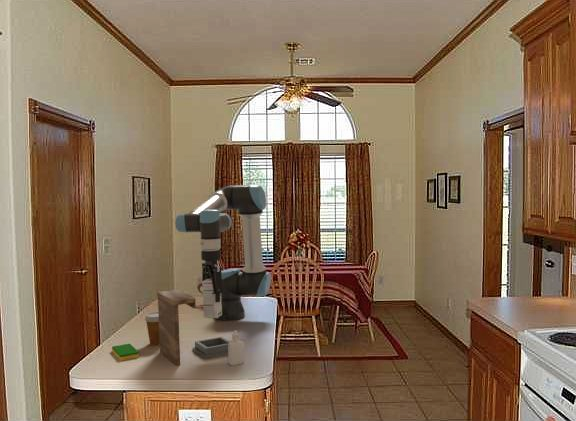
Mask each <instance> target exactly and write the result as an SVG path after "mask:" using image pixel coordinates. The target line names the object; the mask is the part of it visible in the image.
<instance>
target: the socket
mask: <svg viewBox="0 0 576 421" xmlns="http://www.w3.org/2000/svg"><path fill="white" fill-rule="evenodd" d="M230 342H231V341H230V340H228V339H227V338H225V337H223V336H217V337H216V336H215V337H211V338H206V339H200V340H195V341H194V346H193V347H192V349H191V350H192V352H195V353H196V354H197V355H199V356H201V357H202V358H203V359H210V358H211V359H212V358H216V357H220V356H226V355H228V344H229V343H230Z"/></svg>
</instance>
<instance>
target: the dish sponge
mask: <svg viewBox="0 0 576 421" xmlns="http://www.w3.org/2000/svg"><path fill="white" fill-rule="evenodd" d="M111 353H113V354H114V356H116V358H117V359H118V360H119V361H120V360H122V361H125V360H126V361H127V360H132V358H133V359H137V358H140V352H139V351H138V350H137V349H136V348H135V346H133V345H132V344H131V343H124V344H119V345H114V346H111Z"/></svg>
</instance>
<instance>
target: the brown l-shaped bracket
mask: <svg viewBox="0 0 576 421" xmlns="http://www.w3.org/2000/svg"><path fill="white" fill-rule="evenodd" d="M156 294H157V308H158V309H157V310H158V311H157V312H158V314H159V341H160V345H159V352H160V354H162V355H163V357H165V358H166V359H168V360H169V362H170V363H172V364H173V365H174V366H180V365H181V350H180V348H181V346H180V345H181V344H180V319H179V317H180V316H179V305H181V306H182V305H187V306H189V307H191V308H193V309H196V308H197V304H196V302H197V301H196V297H194V296H192V295H189V294H187V293H186V292H184V291H181V290H179V289H171V290H170V289H169V290H162V291H157V293H156Z"/></svg>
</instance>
